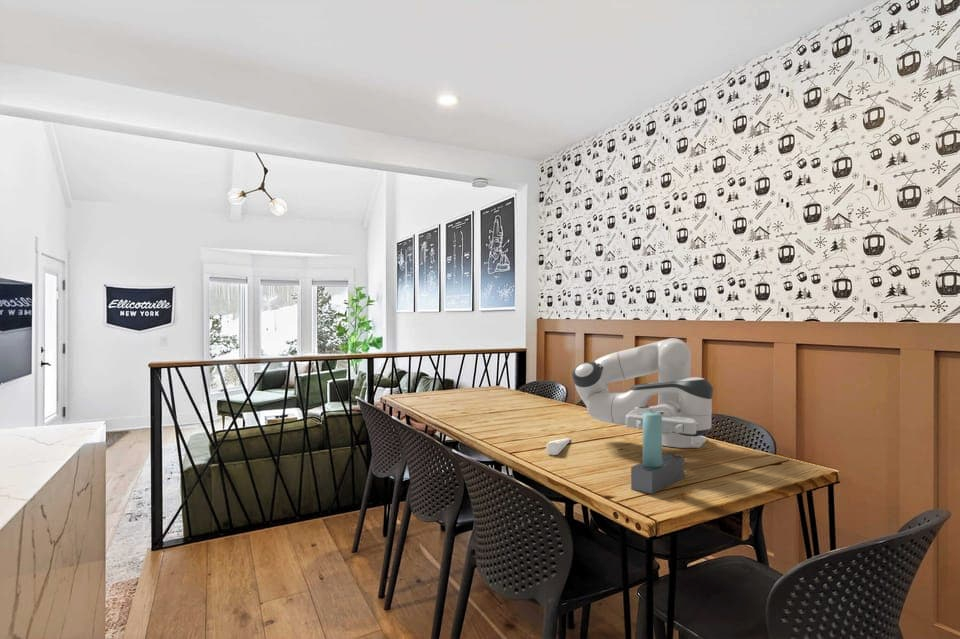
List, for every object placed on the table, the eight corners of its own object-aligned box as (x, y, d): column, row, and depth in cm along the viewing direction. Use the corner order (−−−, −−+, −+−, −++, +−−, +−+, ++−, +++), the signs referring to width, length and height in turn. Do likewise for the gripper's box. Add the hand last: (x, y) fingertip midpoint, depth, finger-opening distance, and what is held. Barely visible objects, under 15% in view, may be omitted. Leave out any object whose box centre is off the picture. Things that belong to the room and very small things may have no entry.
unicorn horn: (579, 441, 186) (579, 428, 186) (558, 457, 165) (558, 442, 165) (567, 439, 188) (567, 427, 188) (545, 455, 167) (545, 441, 167)
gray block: (664, 472, 148) (664, 452, 148) (684, 477, 143) (684, 456, 143) (631, 488, 134) (631, 467, 134) (652, 494, 129) (652, 471, 129)
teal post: (643, 461, 139) (643, 412, 139) (662, 463, 137) (662, 413, 137) (641, 466, 134) (641, 415, 134) (661, 468, 132) (661, 416, 132)
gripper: (698, 433, 150) (696, 443, 137) (630, 425, 159) (621, 434, 147) (699, 413, 150) (696, 421, 137) (630, 406, 159) (622, 413, 147)
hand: (657, 428), depth 142 cm, fingers open, 8 cm apart
